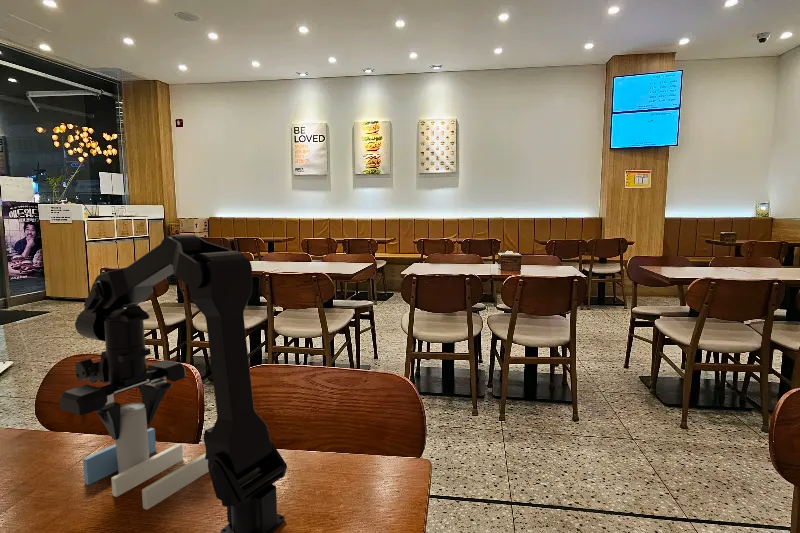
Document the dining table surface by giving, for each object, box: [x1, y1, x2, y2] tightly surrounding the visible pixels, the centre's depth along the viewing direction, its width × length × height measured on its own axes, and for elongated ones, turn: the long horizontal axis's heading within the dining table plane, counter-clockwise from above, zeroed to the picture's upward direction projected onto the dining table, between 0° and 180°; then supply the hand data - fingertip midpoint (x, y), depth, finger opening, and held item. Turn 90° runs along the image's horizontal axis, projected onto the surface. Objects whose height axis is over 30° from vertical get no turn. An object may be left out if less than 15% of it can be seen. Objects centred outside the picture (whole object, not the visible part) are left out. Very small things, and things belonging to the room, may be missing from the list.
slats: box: [82, 427, 209, 510], centre depth 77 cm, size 16×12×4 cm
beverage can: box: [115, 402, 150, 475], centre depth 78 cm, size 5×5×12 cm
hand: (131, 432), depth 77 cm, fingers open, 5 cm apart
